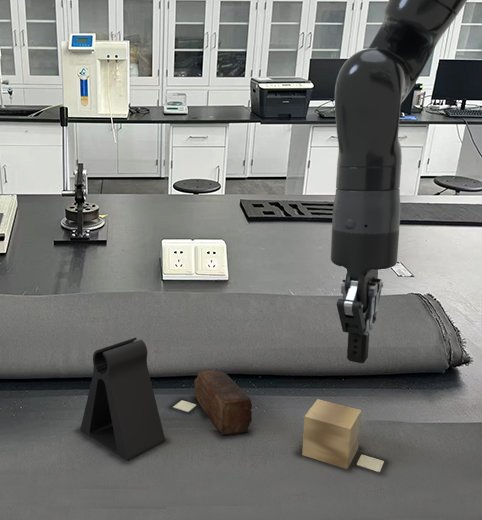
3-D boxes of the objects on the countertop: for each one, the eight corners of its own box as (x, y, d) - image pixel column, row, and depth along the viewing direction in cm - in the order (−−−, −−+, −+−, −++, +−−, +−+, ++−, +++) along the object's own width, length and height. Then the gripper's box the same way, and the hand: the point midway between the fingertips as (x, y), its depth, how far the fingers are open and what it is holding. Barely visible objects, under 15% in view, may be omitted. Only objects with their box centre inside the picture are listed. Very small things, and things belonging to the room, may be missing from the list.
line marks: (384, 462, 59) (384, 461, 59) (379, 473, 57) (379, 471, 57) (181, 401, 74) (181, 400, 74) (172, 408, 72) (172, 406, 72)
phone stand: (80, 431, 66) (77, 340, 64) (117, 415, 70) (115, 329, 68) (127, 462, 60) (125, 362, 57) (165, 442, 64) (165, 348, 61)
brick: (252, 433, 65) (253, 398, 64) (221, 437, 65) (222, 402, 64) (219, 395, 76) (220, 365, 75) (193, 398, 75) (193, 367, 74)
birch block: (358, 449, 62) (361, 409, 61) (347, 470, 58) (350, 428, 57) (314, 436, 65) (317, 398, 64) (301, 455, 61) (304, 415, 60)
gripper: (387, 236, 57) (377, 386, 61) (409, 220, 67) (399, 349, 71) (316, 231, 61) (311, 372, 65) (347, 217, 72) (341, 339, 75)
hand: (357, 360), depth 68 cm, fingers closed
